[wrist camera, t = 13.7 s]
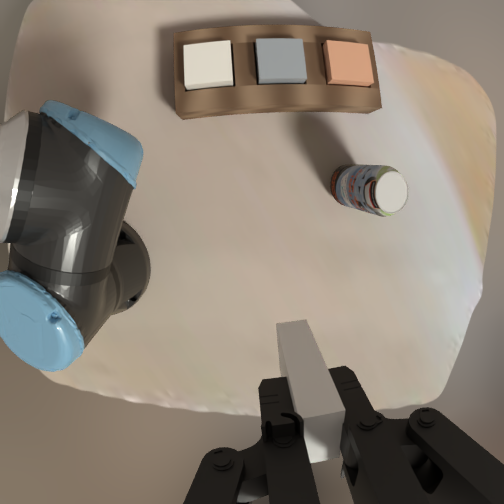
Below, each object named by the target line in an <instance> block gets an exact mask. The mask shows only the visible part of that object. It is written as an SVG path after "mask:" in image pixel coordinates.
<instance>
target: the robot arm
mask: <svg viewBox="0 0 504 504" xmlns="http://www.w3.org/2000/svg"><path fill="white" fill-rule="evenodd" d="M142 159H143V148H142V146H141V143H140V142H139V141H138V140H137V139H136V138H135V137H134V136H132V135H131V134H129V133H127V132H126V131H124V130H122V129H120V128H118V127H116V126H115V125H113V124H111V123H109V122H106V121H104V120H102V119H100V118H98V117H96V116H93V115H91V114H89V113H86V112H84V111H79V110H78V109H76V108H73V107H71V106H69V105H66V104H64V103H61V102H58V101H54V100H48V101H46V102H45V103H44V105H43V106H42V107H41V108H40V114H38V113H33V112H29V111H25V110H22V111H21V112H19V113H18V114H16V115H15V116H13V117H12V118H10V119H9V120H8V121H6V122H4V123H1V124H0V243H11V244H10V253H9V264H8V269H7V270H6V271H3V272H0V336H1V338H2V339H3V340H4V342H5V343H6V345H7V346H8V347H9V348H10V349H11V350H12V351H13V352H14V353H15V354H16V355H17V356H18V357H19V358H20V359H22V360H23V361H25V362H26V363H28V364H29V365H31V366H33V367H35V368H37V369H40V370H44V371H51V372H54V371H57V370H63V369H65V368H67V367H68V366H69V365H70V364H71V363H72V362H73V361H74V360H76V359H77V358H78V357H80V356H81V354H82V353H83V350H84V349H85V347H86V346H87V345H88V343H89V342H90V341H91V340H92V338H93V337H94V336H95V334H96V333H97V332H98V331H99V329H100V328H101V327H102V326H103V324H104V323H105V322H106V320H107V319H108V318H109V317H110V316H111V315H114V314H117V313H120V312H123V311H125V310H127V309H129V308H130V307H132V306H133V305H134V304H135V303H136V302H137V301H138V300H139V299H140V297H141V296H142V295H143V293H144V292H145V290H146V288H147V286H148V283H149V279H150V259H149V255H148V252H147V249H146V247H145V245H144V243H143V241H142V239H141V238H140V236H139V235H138V234H137V233H136V232H135V231H134V230H133V229H132V228H131V227H130V226H129V225H127V224H126V223H124V222H123V220H124V216H125V213H126V209H127V206H128V203H129V200H130V197H131V193H132V190H133V189H136V185H137V184H136V178H137V175H138V172H139V168H140V165H141V162H142ZM276 328H277V340H278V352H279V364H280V371H281V376H282V377H279V378H271V379H263V380H262V382H261V384H260V386H259V388H258V389H259V399H260V410H261V420H262V425H261V430H262V436H261V439H260V440H259V441H258V442H257V443H256V444H255V445H253V446H252V447H249V448H247V449H244V450H242V451H236V450H235V449H232V448H228V447H227V448H225V447H224V448H217V449H213V450H211V451H210V452H208V453H207V454H206V455H205V456H204V458H203V459H202V461H201V464H200V466H199V468H198V471H197V473H196V475H195V478H194V480H193V482H192V485H191V487H190V489H189V492H188V494H187V496H186V499H185V501H184V503H183V504H252V501H253V500H255V499H258V498H261V497H264V496H266V495H269V502H270V504H320V501H319V497H318V493H317V489H316V485H315V481H314V476H313V472H312V468H311V464H310V463H314V462H319V461H324V460H329V459H334V458H339V456H340V450H341V453H342V456H343V465H342V470H341V478H344V475H345V477H346V480H347V483H348V486H349V489H350V492H351V495H352V499H353V501H354V504H504V464H502V463H501V462H500V461H499V460H497V459H496V458H495V457H494V456H493V455H491V454H490V453H489V452H488V451H487V450H485V449H484V448H483V447H482V446H480V445H479V444H478V443H477V442H476V441H474V440H473V439H472V438H471V437H470V436H468V435H467V434H466V433H465V432H463V431H462V430H461V429H460V428H459V427H457V426H456V425H455V424H454V423H453V422H451V421H450V420H449V419H448V418H446V417H445V416H444V415H443V414H442V413H440V412H439V411H437V410H435V409H433V408H428V407H427V408H420V409H417V410H415V411H414V412H413V413H412V414H411V415H410V417H409V419H388V418H385V417H384V416H383V415H382V414H381V413H379V412H377V411H375V410H374V409H373V407H372V405H371V403H370V402H369V400H368V398H367V396H366V394H365V392H364V390H363V388H362V387H361V385H360V383H359V381H358V379H357V377H356V375H355V373H354V372H353V371H352V370H351V369H349V368H348V367H346V366H341V367H336V368H331V369H328V368H327V366H326V364H325V361H324V359H323V357H322V354H321V352H320V350H319V347H318V345H317V343H316V341H315V338H314V336H313V334H312V331H311V329H310V327H309V325H308V322H307V320H299V321H292V322H285V323H277V324H276Z"/></svg>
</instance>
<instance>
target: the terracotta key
mask: <svg viewBox="0 0 504 504" xmlns="http://www.w3.org/2000/svg"><path fill="white" fill-rule="evenodd" d="M322 54H323V61H324V69H325V77H326V85H339V86H354V87H368V86H369V85H371V84H373V83H374V80H373V73H372V66H371V60H370V54H369V48H368V44H360V43H352V42H343V41H331V40H326V42H325V43H324V45H323V46H322Z"/></svg>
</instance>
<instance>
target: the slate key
mask: <svg viewBox="0 0 504 504" xmlns="http://www.w3.org/2000/svg"><path fill="white" fill-rule="evenodd" d="M255 60H256V71H257V84H258V85H273V84H303V83H304V82H305V81H306V79H307V73H306V64H305V56H304V48H303V40H302V39H291V38H268V39H256V44H255Z"/></svg>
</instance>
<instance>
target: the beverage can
mask: <svg viewBox="0 0 504 504" xmlns="http://www.w3.org/2000/svg"><path fill="white" fill-rule="evenodd" d="M331 192H332V195H333V197H334V198H335V200H336V201H337V202H338V203H340V204H342V205H344V206H348V207H351V208H355V209H358V210H361V211H365V212H368V213H372V214H375V215H378V216H383V217H386V216H391V215H393V214H395V213H397V212H399V211H400V210H402V209H403V207H404V206H405V204H406V202H407V199H408V193H409V191H408V185H407V182H406V180H405V178H404V177H403V176H402V175H401V174H400V173H399V172H398V171H397V170H396V169H394V168H392V167H390V166H381V165H352V164H348V165H343V166H341V167H339V168H338V169H337V170H336V171H335V172H334V174H333V176H332V179H331Z"/></svg>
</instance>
